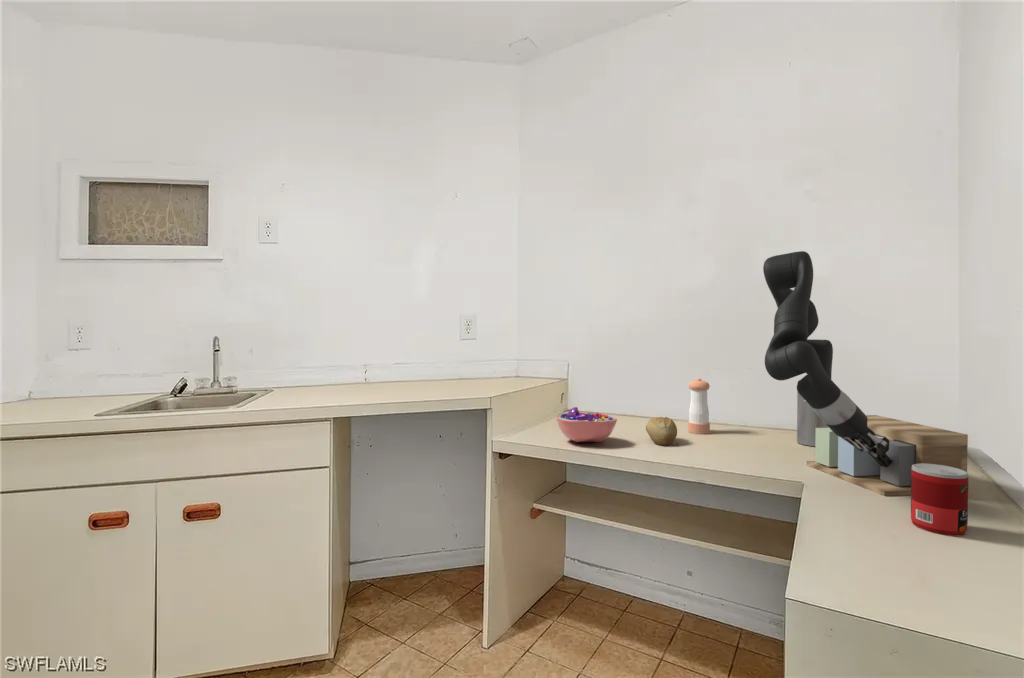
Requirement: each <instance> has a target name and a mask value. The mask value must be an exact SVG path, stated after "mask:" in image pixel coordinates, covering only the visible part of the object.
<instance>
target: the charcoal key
mask: <svg viewBox="0 0 1024 678" xmlns="http://www.w3.org/2000/svg"><path fill="white" fill-rule="evenodd" d="M886 455H887V456H888V457H889V458H890V459H891V460H892V463H891V464H890V465H889V466H888V467H883V466H881V468H880V479H881V480H884V481H886V482H889V483H892V484H895V485H897V486H911V468H912V465H913V464H916V445H915V444H911V443H907V442H903V441H890V442H889V450H888V451H887V452H886Z"/></svg>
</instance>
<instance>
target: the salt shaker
mask: <svg viewBox="0 0 1024 678" xmlns="http://www.w3.org/2000/svg"><path fill="white" fill-rule="evenodd" d="M688 389H689V390H690V405H689V410H688V421H687V432H688V433H690V434H695V435H696V434H697V435H708V434H710V432H711V431H710V430H711V426H710V425H711V423H710V422H709V420H710V411H709V405H708V390H709V389H710V384H709V382H708V381H705V380H702V378H701V377H698V378H696V380H692V381H690V382H689V383H688Z"/></svg>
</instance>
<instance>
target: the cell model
mask: <svg viewBox="0 0 1024 678" xmlns="http://www.w3.org/2000/svg"><path fill="white" fill-rule="evenodd" d="M555 419H556V422H557V426H558V428H559V430H560V431H561V433H562V434H563V435H564V437H565V438H567V439H569V440H570V441H572V442H575V443H600V442H603V441H604V440H605V439H607V438H608V437H610V435H611V434H612V432H613V431H614V429H615V427H616V424H617V421H618V418H616V417H614V416H610V415H607V414H604V413H600V412H580V411H579V408H578V407H577V406H574V407H571V408H570V409H569V410H568V412H567V413H560V414H558V415H556V416H555Z"/></svg>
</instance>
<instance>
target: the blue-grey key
mask: <svg viewBox="0 0 1024 678" xmlns="http://www.w3.org/2000/svg"><path fill="white" fill-rule="evenodd" d="M875 436H876V437H878V438H880V439H881V438H882V439H883V438H884V436H880V435H876V434H875ZM885 438H886V437H885ZM880 468H881V466H880V465H879V464H878V463H877V462H876V460H875V459H874V458H873V457H872V456H870V455H868V454H867V453H866V452H865V451H863V452H861V451H859V450H858V449H857V448H855V447H854V446H853V445H851V444H850V443H848V442H847V441H845V440H844V439H843V438H841V437H839V436H838V470H839V471H841V472H844V473H847V474H849V475H852V476H870V475H880Z"/></svg>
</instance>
